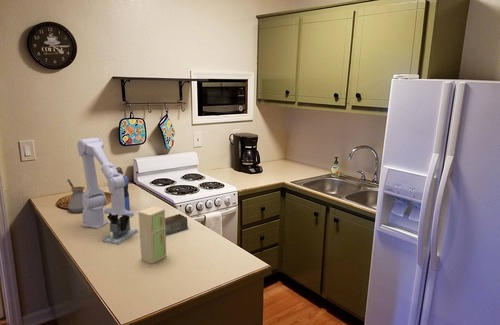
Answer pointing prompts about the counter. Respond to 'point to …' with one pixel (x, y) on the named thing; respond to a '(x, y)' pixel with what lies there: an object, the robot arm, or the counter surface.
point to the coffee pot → (76, 199)
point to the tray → (119, 239)
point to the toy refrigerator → (152, 234)
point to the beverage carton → (175, 224)
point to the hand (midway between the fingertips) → (119, 229)
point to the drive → (118, 228)
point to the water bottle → (125, 190)
